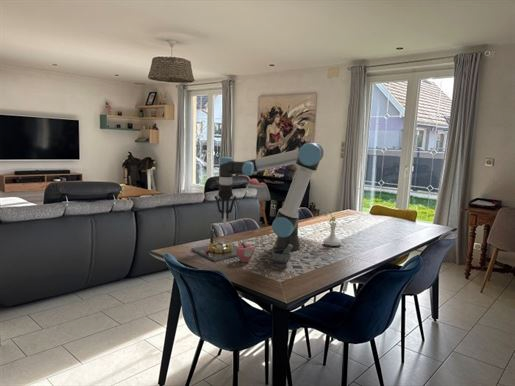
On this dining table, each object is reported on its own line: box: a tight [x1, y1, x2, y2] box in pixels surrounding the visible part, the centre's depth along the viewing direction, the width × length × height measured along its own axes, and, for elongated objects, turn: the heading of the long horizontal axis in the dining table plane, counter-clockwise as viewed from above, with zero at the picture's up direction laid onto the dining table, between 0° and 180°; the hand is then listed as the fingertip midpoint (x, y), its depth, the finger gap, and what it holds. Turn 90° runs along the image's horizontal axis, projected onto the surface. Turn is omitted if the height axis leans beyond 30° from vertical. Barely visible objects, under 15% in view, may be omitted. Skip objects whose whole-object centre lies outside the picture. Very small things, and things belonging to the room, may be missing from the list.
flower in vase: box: [322, 205, 342, 247], centre depth 236 cm, size 13×11×25 cm
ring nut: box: [208, 228, 233, 253], centre depth 218 cm, size 16×13×10 cm
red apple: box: [236, 242, 255, 263], centre depth 202 cm, size 10×9×10 cm
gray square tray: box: [190, 241, 239, 262], centre depth 217 cm, size 24×24×5 cm
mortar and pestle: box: [271, 244, 293, 268], centre depth 197 cm, size 11×9×12 cm
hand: (224, 224), depth 225 cm, fingers closed
